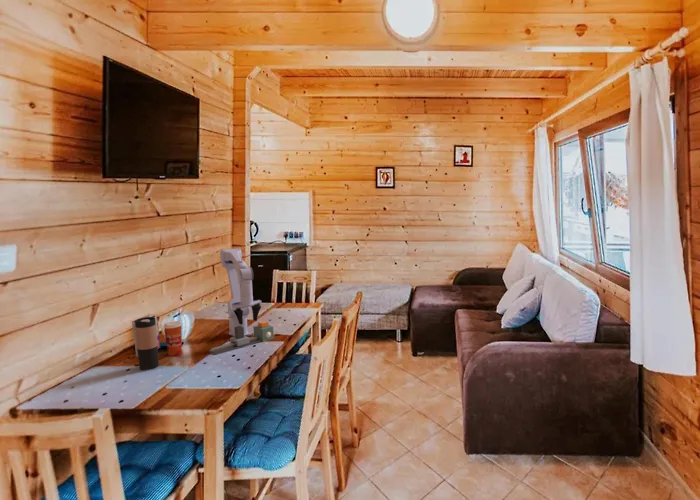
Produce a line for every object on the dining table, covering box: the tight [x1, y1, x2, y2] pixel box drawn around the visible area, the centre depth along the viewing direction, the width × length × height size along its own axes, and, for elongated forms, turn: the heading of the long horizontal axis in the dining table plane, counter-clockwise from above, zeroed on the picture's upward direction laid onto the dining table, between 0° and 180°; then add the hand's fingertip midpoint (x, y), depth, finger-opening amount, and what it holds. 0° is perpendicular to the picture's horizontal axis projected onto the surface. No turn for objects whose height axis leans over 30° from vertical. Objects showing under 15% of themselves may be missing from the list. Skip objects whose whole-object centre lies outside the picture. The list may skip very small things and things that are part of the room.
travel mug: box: [134, 317, 160, 371], centre depth 176 cm, size 8×8×20 cm
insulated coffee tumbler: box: [131, 314, 161, 358], centre depth 193 cm, size 11×5×16 cm, turn 168°
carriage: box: [229, 326, 250, 346], centre depth 200 cm, size 7×6×7 cm
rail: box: [208, 335, 261, 356], centre depth 199 cm, size 6×23×2 cm, turn 135°
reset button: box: [257, 320, 269, 328], centre depth 209 cm, size 4×4×4 cm
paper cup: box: [162, 320, 183, 357], centre depth 192 cm, size 8×8×14 cm
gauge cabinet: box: [253, 324, 275, 342], centre depth 209 cm, size 8×6×6 cm
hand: (248, 322), depth 203 cm, fingers open, 7 cm apart
